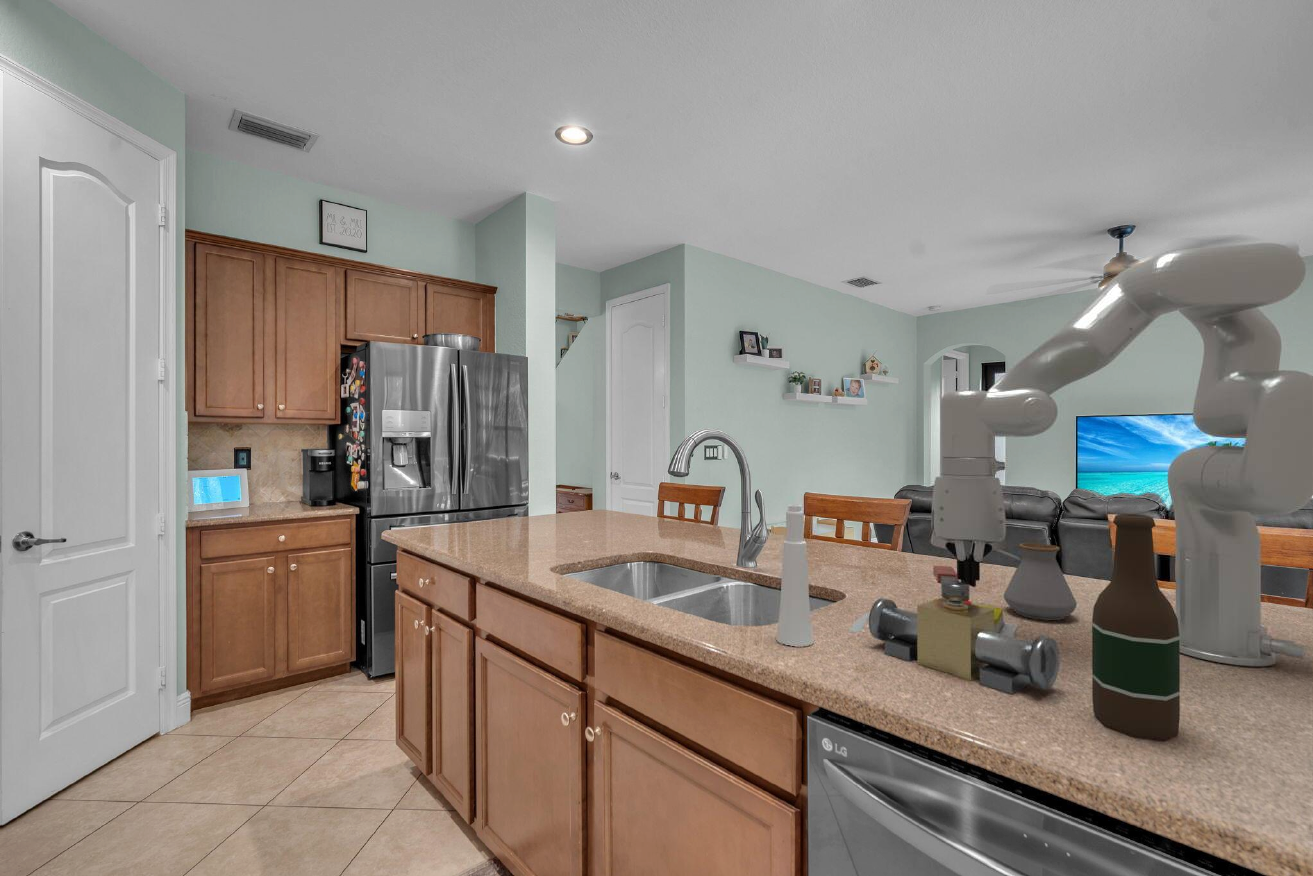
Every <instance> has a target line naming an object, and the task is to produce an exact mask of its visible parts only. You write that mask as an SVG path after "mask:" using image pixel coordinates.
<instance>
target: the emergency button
mask: <svg viewBox="0 0 1313 876" xmlns="http://www.w3.org/2000/svg"><path fill="white" fill-rule="evenodd" d="M937 599H938V598H933V600H937ZM963 603H967V604H972V605H976V606H981V607H985V608H990V609H994V632H995V633H999V634H1003V635H1007V636H1011V637H1014V636H1015V633H1016V631H1017V629H1018V625H1017V624H1015V623H1010V622H1006V621H1004V611H1003V608H1001V607H995V606H989V605H983V604H975V603H972V601H970V600H967V601H963ZM1014 624H1015V625H1014ZM1016 628H1017V629H1016ZM1003 629H1004V630H1003ZM1013 629H1016V630H1013ZM1013 635H1014V636H1013Z"/></svg>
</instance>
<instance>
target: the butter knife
mask: <svg viewBox="0 0 1313 876" xmlns="http://www.w3.org/2000/svg"><path fill="white" fill-rule="evenodd" d="M869 613H870V612H865V613H863V614H862V615H863V616H862V615H861V616H860V618H858V619H857V620H855V621H854V622H855V623H852V624H854V625H852V624H851V625H850V626H852V627H848V629H850V630H848V632H850V631H852V632H851V633H858V632H861V630H862V629H863V628H864V627H865V625H866V623H867V621H868V619H869Z"/></svg>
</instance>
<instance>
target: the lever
mask: <svg viewBox="0 0 1313 876" xmlns="http://www.w3.org/2000/svg"><path fill="white" fill-rule="evenodd" d="M932 567H933V569H932V571H933V572H932V573H933V574H932V575H933V577H934V578H935V581H936V583H937V584H940V585H941V586H940V589H941V591H940V592H941V594H940V595H941V597H940V598H944V599H948V600H954V601H967V600H968V601H970V586H969V584H967V583H964V582H961V581H959V580H958V575H957V571H956V570H955V569H954V568H953V566H949V565H948V566H947V565H946V566H945V565H935V564H934V565H932Z"/></svg>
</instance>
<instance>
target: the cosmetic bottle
mask: <svg viewBox="0 0 1313 876" xmlns="http://www.w3.org/2000/svg"><path fill="white" fill-rule="evenodd" d="M787 509H788V510H786V511H785V540H784V541H783V543H782V544H783V545H782V547H783V548H782V560H781V561H782V563H781V583H780V584H781V585H780V588H781V590H780V604H779V612H778V613H779V616H778V624H777V629H776V630H777V631H776V635H775V641H777V642H778V643H779V644H781V645H783V644H785V645H784V646H787V645H790V646H789V647H792V646H795V647H794V648H804V646H805V647H809V645H810V646H812V645H813V644H814V643H815V640H814V639H815V637H814V631H813V625H812V619H811V609H810V608H811V606H810V592H809V591H810V590H809V588H810V587H809V573H808V572H809V571H808V570H809V566H808V549H807V542H806V541H805V540H804V537H805V536H804V530H805V529H804V526H805V524H804V523H805V522H804V521H805V520H804V519H805V518H804V516H805V515H804V514H805V513H804V512H803V510H802V509H803V505H801V504H788V505H787Z"/></svg>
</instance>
